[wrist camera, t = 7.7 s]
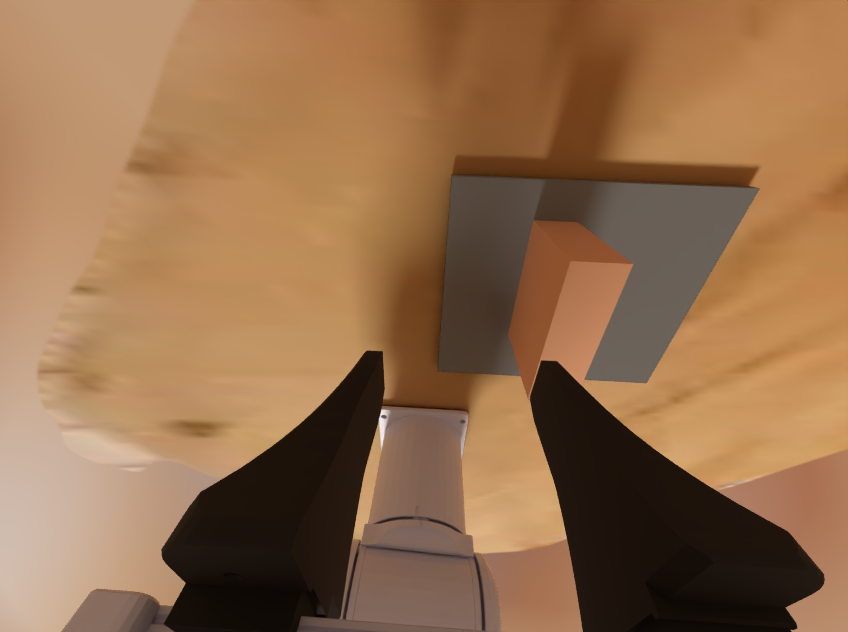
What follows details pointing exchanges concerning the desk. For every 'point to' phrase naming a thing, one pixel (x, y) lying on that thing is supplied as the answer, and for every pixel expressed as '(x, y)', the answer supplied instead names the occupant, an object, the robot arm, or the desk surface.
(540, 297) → the slab
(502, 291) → the mat
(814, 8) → the desk surface
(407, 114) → the desk surface
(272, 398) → the desk surface
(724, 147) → the desk surface
